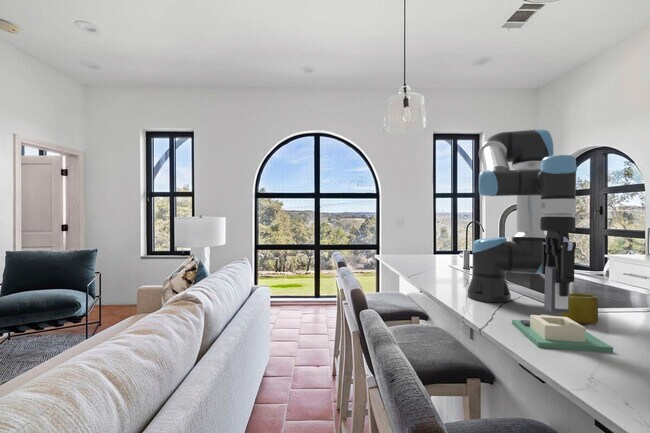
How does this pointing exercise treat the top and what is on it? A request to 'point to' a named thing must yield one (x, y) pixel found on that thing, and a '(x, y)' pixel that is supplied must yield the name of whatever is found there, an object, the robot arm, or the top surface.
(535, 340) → the board
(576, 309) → the mug
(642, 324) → the top surface
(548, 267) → the plug
